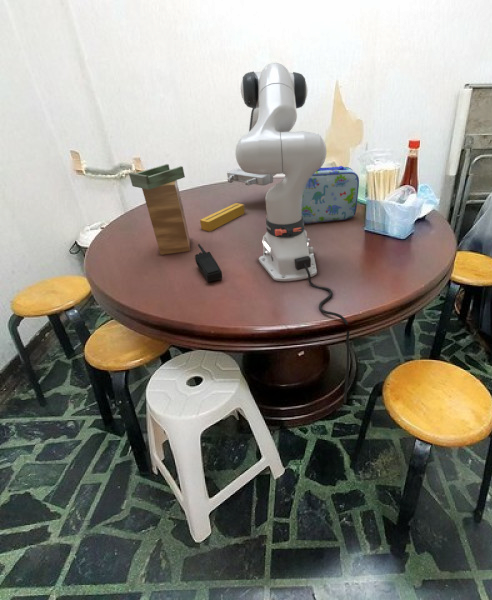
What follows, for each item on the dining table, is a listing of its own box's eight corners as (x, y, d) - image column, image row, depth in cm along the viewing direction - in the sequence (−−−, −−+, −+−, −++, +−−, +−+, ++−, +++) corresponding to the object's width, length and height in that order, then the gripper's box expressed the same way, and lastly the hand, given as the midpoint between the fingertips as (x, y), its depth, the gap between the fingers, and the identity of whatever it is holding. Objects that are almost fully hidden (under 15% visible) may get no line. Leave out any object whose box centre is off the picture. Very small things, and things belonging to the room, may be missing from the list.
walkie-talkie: (200, 280, 104) (182, 249, 117) (216, 288, 108) (197, 257, 121) (213, 264, 103) (192, 234, 116) (228, 273, 107) (207, 243, 120)
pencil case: (237, 211, 155) (235, 202, 153) (244, 213, 153) (243, 204, 151) (201, 229, 140) (199, 219, 138) (210, 231, 138) (208, 221, 136)
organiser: (177, 235, 136) (159, 161, 120) (204, 242, 130) (189, 166, 114) (146, 250, 125) (122, 172, 110) (173, 259, 119) (152, 177, 104)
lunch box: (350, 211, 153) (353, 161, 141) (358, 220, 144) (363, 167, 132) (292, 217, 149) (290, 165, 137) (296, 226, 140) (295, 173, 128)
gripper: (237, 163, 159) (217, 171, 149) (275, 168, 150) (256, 177, 140) (239, 177, 162) (219, 186, 153) (276, 182, 154) (257, 192, 144)
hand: (237, 182), depth 147 cm, fingers open, 8 cm apart
